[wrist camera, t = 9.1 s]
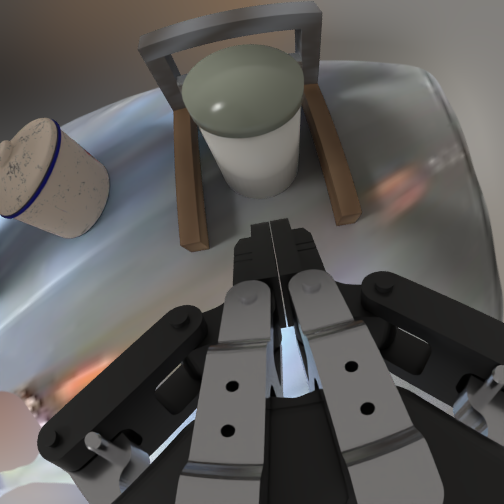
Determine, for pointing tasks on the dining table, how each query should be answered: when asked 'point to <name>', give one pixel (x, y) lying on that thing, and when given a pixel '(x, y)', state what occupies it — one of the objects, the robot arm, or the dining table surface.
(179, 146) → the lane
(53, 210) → the teacup with lid
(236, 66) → the jar
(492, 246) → the dining table surface
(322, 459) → the robot arm
